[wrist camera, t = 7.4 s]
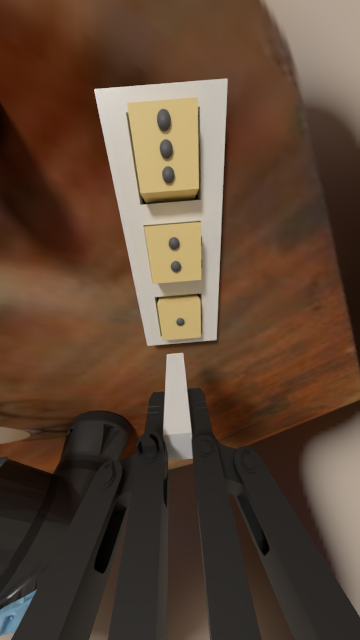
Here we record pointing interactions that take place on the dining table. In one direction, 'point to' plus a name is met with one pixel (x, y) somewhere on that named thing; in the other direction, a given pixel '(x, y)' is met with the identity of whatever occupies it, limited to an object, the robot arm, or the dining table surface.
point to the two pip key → (174, 252)
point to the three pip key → (166, 148)
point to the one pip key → (180, 316)
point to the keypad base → (142, 215)
